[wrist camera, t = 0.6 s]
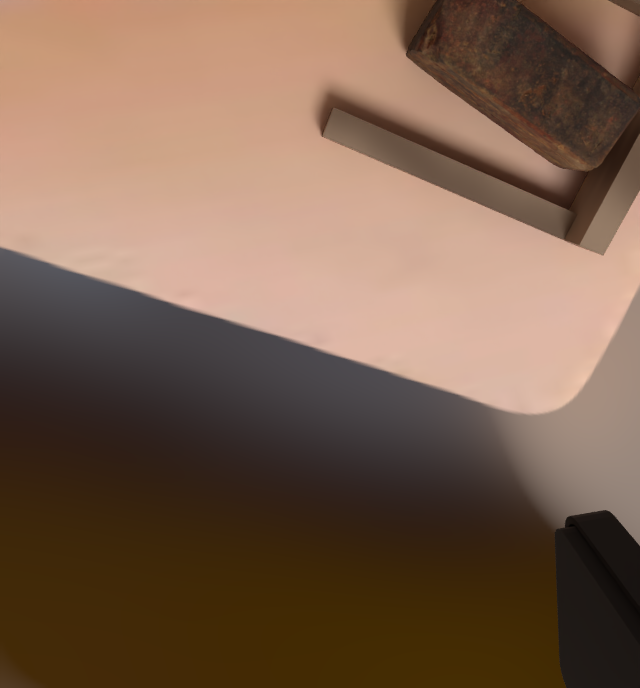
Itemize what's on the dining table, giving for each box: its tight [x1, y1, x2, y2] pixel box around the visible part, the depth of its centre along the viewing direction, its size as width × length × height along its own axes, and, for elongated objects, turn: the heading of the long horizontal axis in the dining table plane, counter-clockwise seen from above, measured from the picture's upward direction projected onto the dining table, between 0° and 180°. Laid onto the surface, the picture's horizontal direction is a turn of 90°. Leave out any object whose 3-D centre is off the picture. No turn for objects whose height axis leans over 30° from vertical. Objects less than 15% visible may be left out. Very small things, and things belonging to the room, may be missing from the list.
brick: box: [406, 0, 640, 172], centre depth 29 cm, size 11×4×5 cm, turn 58°
